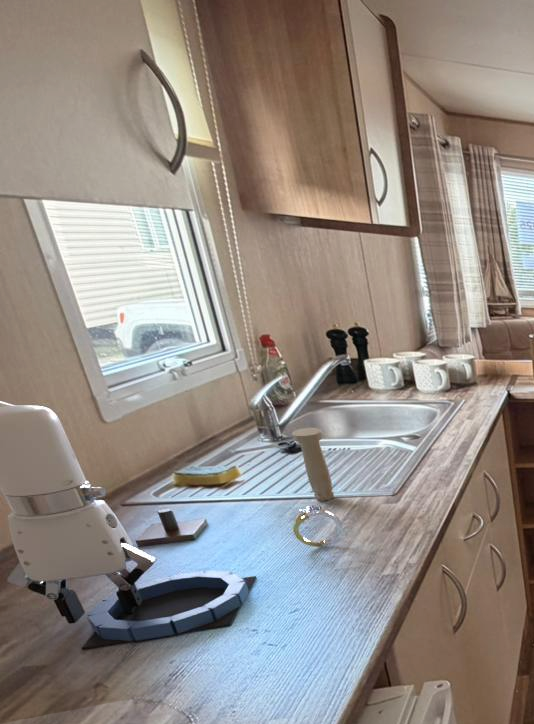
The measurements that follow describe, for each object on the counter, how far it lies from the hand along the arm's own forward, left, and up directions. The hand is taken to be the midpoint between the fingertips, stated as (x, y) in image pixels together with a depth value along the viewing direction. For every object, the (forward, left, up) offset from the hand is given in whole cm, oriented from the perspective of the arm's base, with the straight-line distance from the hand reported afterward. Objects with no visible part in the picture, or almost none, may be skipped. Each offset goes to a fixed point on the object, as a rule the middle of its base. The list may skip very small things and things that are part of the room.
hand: (105, 613), depth 93 cm
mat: (+8, 0, -1) cm, 8 cm away
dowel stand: (-1, +33, -1) cm, 33 cm away
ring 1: (+8, 0, -1) cm, 8 cm away
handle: (+21, +45, -1) cm, 50 cm away
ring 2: (+24, +18, -1) cm, 30 cm away
